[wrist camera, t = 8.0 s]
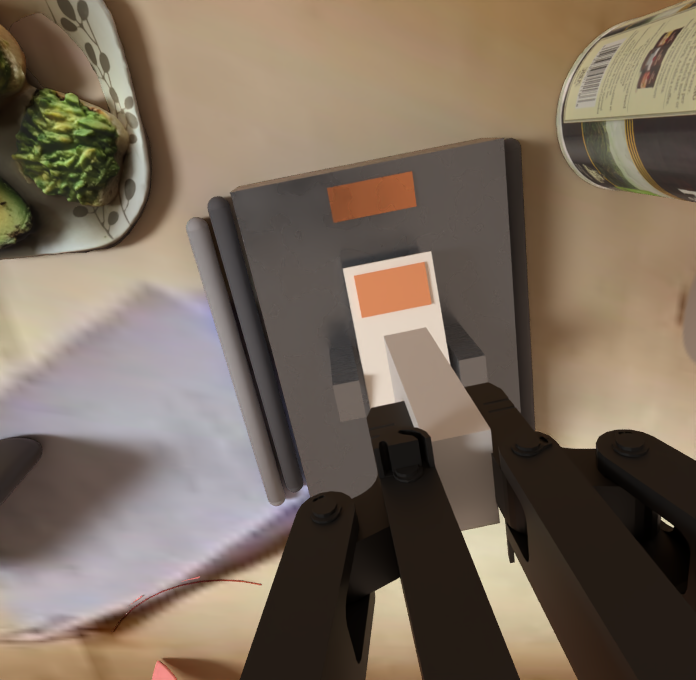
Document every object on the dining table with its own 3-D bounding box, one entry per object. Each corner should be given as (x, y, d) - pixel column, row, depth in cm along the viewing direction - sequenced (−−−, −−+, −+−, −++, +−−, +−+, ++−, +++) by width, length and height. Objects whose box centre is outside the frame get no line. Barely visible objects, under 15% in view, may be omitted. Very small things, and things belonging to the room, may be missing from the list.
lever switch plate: (239, 186, 33) (214, 203, 24) (481, 137, 33) (542, 137, 24) (315, 483, 42) (316, 572, 33) (505, 446, 42) (555, 525, 33)
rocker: (342, 268, 30) (343, 268, 28) (424, 252, 30) (431, 251, 28) (385, 485, 32) (388, 501, 30) (461, 470, 32) (471, 485, 30)
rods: (181, 202, 33) (176, 205, 32) (515, 136, 33) (523, 136, 32) (270, 499, 42) (269, 511, 41) (532, 448, 42) (539, 458, 41)
